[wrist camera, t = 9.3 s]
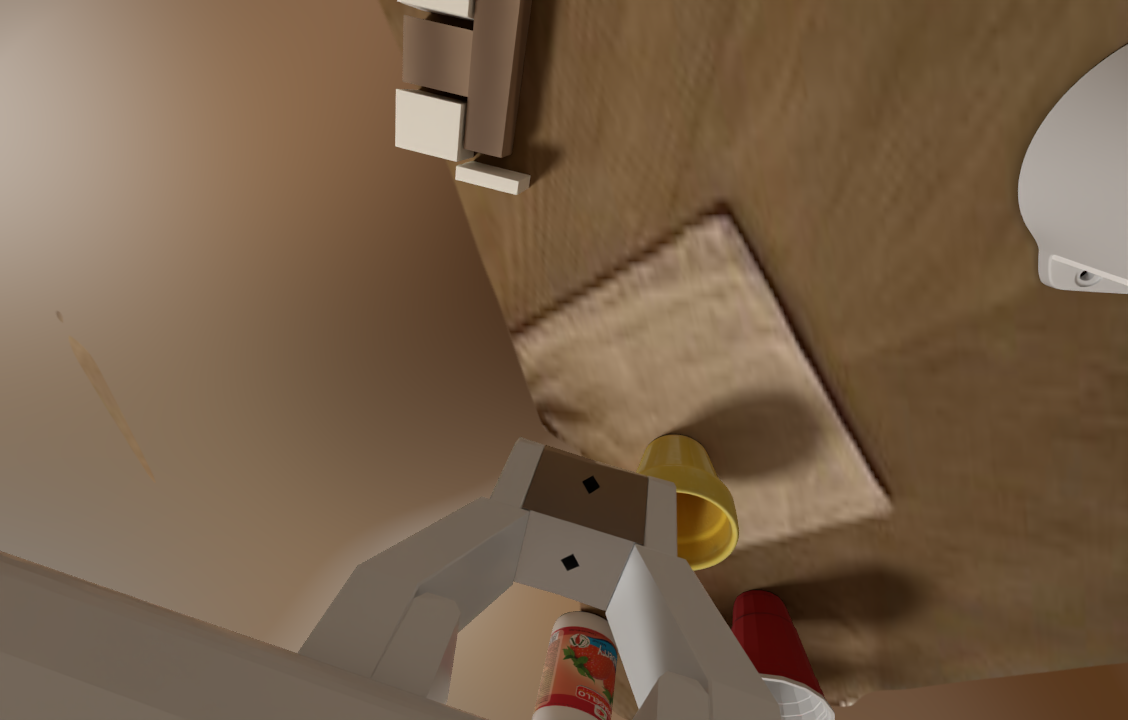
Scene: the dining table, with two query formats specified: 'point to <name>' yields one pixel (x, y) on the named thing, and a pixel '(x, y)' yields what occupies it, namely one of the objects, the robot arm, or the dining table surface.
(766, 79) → the dining table surface
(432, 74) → the walnut T block
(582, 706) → the fruit juice
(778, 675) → the plastic cup
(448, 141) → the cream T dock
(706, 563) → the plant pot
